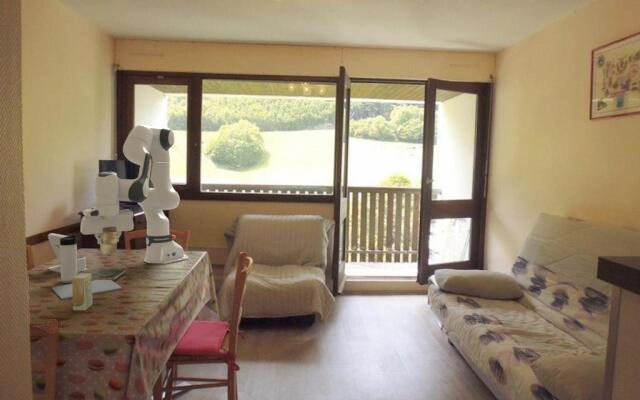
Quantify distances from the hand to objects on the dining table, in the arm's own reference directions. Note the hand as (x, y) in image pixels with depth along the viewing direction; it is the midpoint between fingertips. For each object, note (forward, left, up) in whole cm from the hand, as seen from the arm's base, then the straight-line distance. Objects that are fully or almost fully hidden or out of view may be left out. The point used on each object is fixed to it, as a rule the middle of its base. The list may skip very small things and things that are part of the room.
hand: (108, 242), depth 177 cm
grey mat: (+8, -2, -19) cm, 21 cm away
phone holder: (+7, -39, -19) cm, 45 cm away
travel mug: (+11, -18, -19) cm, 29 cm away
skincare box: (+15, +21, -19) cm, 32 cm away
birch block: (0, 0, -4) cm, 4 cm away
